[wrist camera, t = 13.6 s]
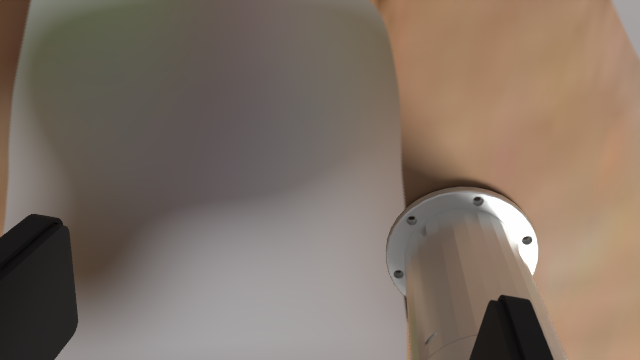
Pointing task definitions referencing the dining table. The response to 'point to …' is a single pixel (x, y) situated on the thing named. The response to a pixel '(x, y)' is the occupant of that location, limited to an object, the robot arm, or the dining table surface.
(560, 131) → the dining table surface
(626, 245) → the dining table surface
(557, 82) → the dining table surface
